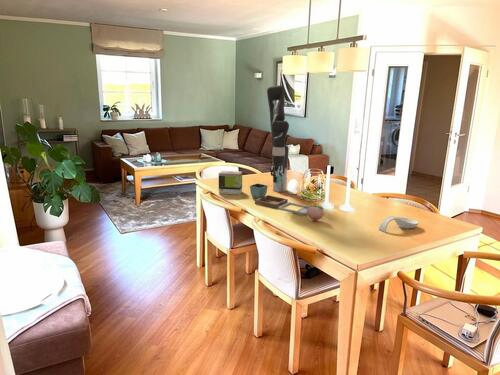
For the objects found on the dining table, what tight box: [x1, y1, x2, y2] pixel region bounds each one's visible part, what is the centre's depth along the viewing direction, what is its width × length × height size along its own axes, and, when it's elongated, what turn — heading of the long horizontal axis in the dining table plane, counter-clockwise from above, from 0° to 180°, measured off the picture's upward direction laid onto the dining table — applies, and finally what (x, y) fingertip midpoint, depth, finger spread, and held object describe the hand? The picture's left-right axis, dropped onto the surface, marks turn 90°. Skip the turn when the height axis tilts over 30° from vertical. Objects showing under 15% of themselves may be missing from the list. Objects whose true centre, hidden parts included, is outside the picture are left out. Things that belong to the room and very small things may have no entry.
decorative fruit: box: [306, 203, 324, 222], centre depth 205 cm, size 9×8×10 cm
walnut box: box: [254, 194, 289, 209], centre depth 233 cm, size 15×15×3 cm
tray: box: [277, 201, 309, 217], centre depth 223 cm, size 14×18×2 cm
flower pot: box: [249, 182, 268, 200], centre depth 245 cm, size 9×9×9 cm
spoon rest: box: [378, 215, 419, 233], centre depth 197 cm, size 24×12×7 cm, turn 118°
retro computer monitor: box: [218, 170, 243, 196], centre depth 257 cm, size 15×10×15 cm
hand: (277, 181), depth 227 cm, fingers closed on ball, 5 cm apart
